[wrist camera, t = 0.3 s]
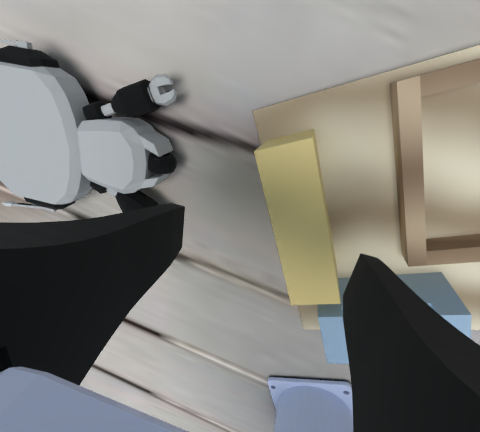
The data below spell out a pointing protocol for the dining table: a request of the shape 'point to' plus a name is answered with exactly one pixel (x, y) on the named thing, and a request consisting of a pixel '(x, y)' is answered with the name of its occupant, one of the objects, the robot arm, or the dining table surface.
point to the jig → (398, 169)
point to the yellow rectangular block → (299, 217)
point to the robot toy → (76, 135)
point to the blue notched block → (423, 284)
